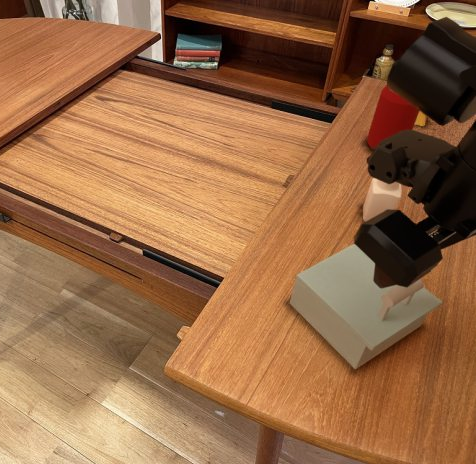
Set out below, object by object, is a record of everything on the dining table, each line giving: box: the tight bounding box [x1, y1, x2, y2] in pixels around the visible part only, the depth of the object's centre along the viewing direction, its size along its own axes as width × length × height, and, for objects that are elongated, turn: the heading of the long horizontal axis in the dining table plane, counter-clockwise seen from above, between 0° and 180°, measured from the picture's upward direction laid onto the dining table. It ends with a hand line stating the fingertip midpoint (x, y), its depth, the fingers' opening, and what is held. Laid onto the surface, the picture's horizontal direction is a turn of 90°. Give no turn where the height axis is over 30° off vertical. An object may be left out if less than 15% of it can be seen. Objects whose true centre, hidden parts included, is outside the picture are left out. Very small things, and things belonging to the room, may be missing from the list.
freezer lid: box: [295, 243, 443, 351], centre depth 60 cm, size 12×12×5 cm
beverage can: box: [366, 84, 419, 149], centre depth 88 cm, size 7×7×12 cm
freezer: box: [289, 278, 428, 370], centre depth 64 cm, size 12×12×5 cm
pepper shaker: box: [362, 177, 402, 223], centre depth 75 cm, size 4×4×10 cm
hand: (407, 265), depth 53 cm, fingers open, 9 cm apart
